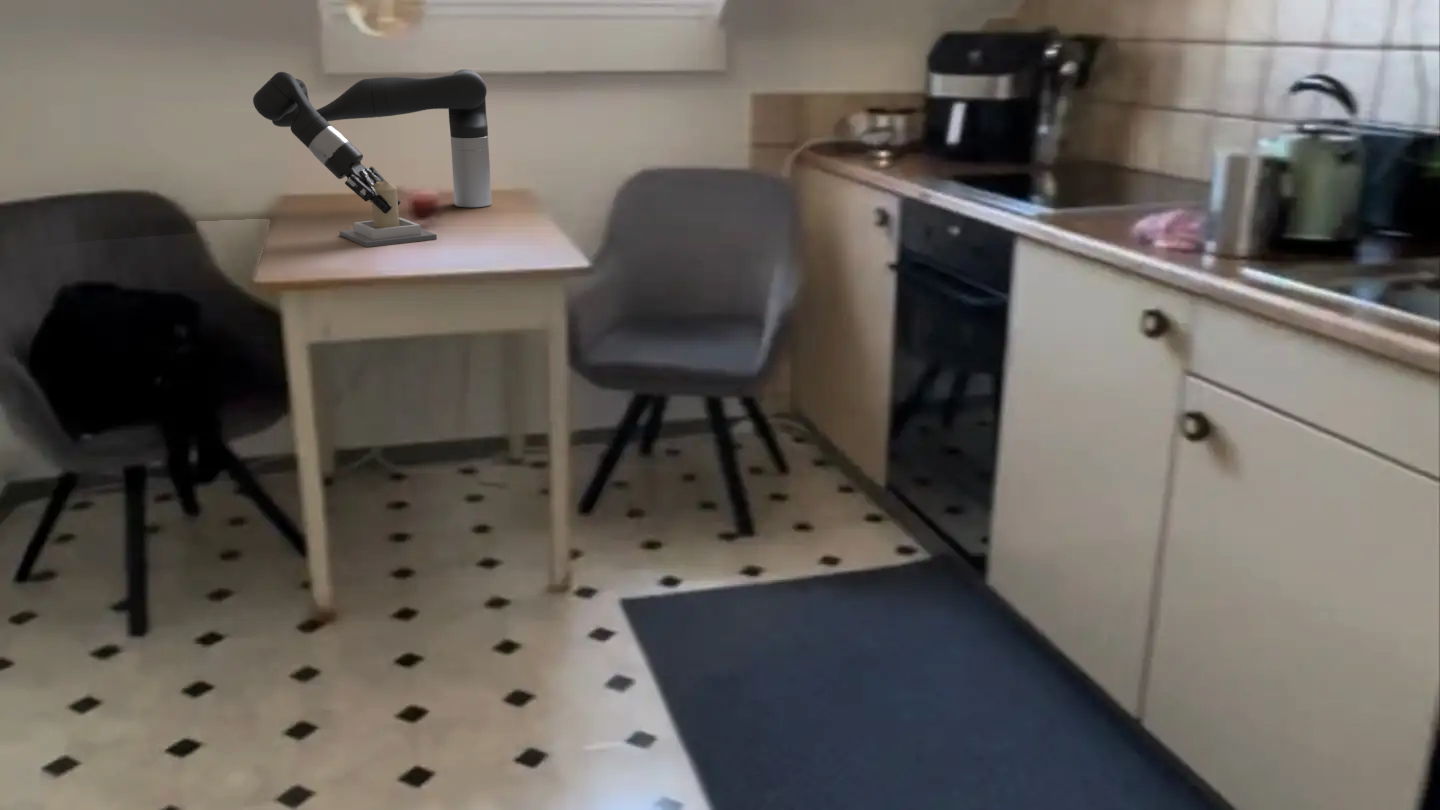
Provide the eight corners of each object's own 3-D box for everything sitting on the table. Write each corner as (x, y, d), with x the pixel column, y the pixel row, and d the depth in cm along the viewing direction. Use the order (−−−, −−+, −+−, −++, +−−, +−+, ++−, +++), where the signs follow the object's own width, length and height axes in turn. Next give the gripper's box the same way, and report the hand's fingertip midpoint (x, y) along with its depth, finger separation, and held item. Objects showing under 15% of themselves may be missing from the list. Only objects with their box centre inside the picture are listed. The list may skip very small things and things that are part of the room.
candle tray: (339, 235, 277) (338, 221, 276) (407, 227, 286) (406, 214, 285) (366, 247, 265) (365, 233, 264) (436, 239, 274) (435, 225, 273)
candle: (404, 227, 275) (401, 181, 272) (382, 230, 271) (379, 184, 268) (390, 223, 278) (387, 179, 275) (368, 226, 274) (365, 181, 271)
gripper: (336, 159, 278) (392, 214, 281) (312, 168, 264) (371, 226, 267) (357, 136, 276) (414, 191, 279) (334, 144, 262) (394, 202, 265)
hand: (393, 208), depth 273 cm, fingers closed on candle, 5 cm apart
